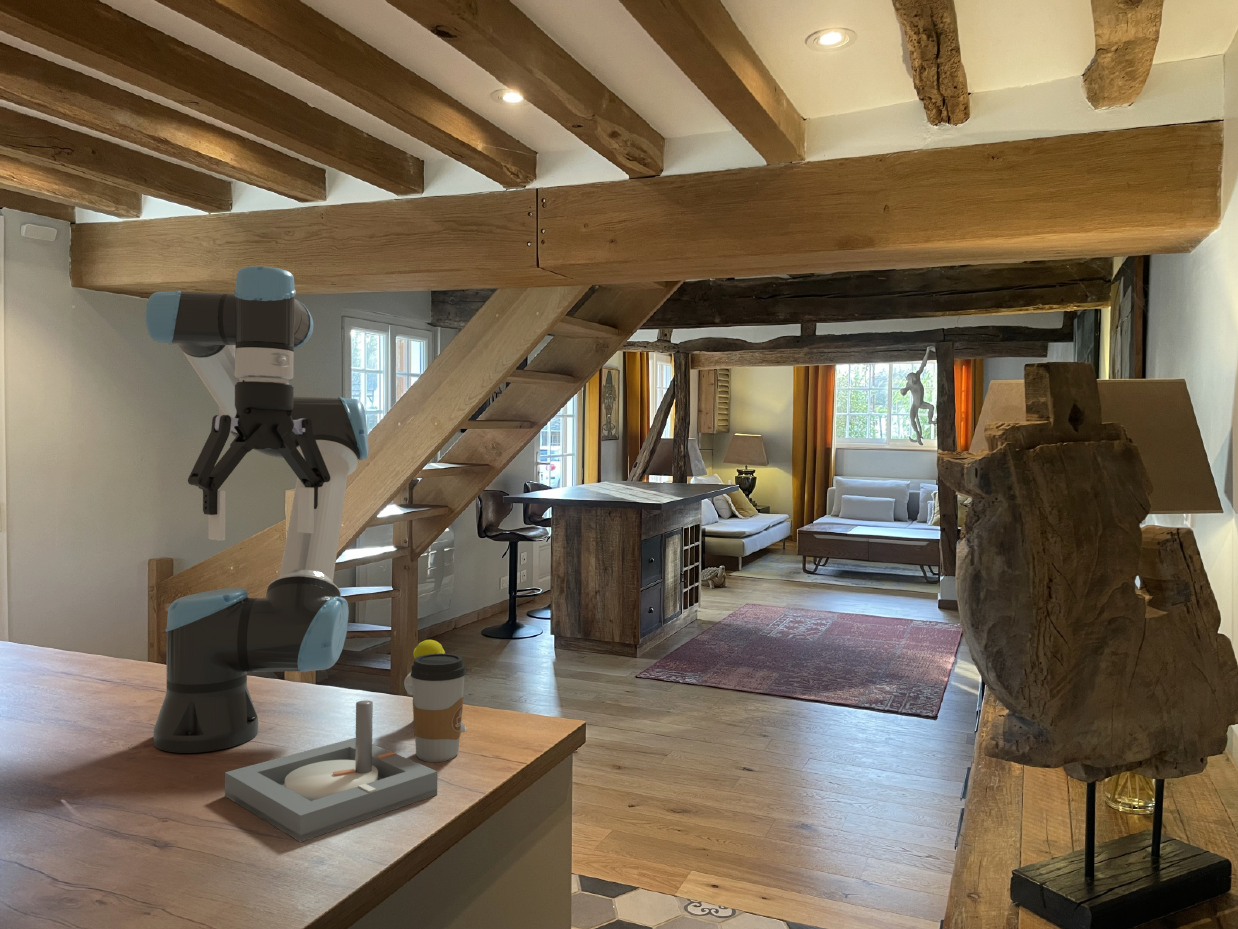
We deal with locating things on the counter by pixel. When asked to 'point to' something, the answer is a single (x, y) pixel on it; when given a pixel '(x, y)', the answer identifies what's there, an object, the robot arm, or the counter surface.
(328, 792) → the dial
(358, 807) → the dial board
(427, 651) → the figurine
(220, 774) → the counter surface
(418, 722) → the coffee cup
